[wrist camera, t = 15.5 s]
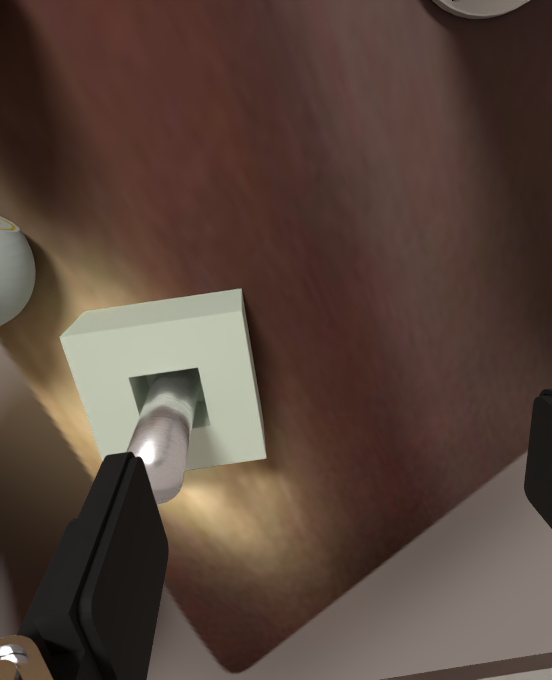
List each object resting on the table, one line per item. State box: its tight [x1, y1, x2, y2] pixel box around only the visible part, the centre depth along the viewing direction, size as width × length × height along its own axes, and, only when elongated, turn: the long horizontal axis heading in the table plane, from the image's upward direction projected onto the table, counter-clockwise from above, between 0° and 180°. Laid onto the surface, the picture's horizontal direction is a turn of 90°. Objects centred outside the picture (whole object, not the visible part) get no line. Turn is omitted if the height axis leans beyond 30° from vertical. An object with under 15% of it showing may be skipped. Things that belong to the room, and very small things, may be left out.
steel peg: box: [126, 368, 200, 504], centre depth 35 cm, size 4×4×14 cm
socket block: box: [59, 289, 266, 471], centre depth 40 cm, size 14×14×6 cm
